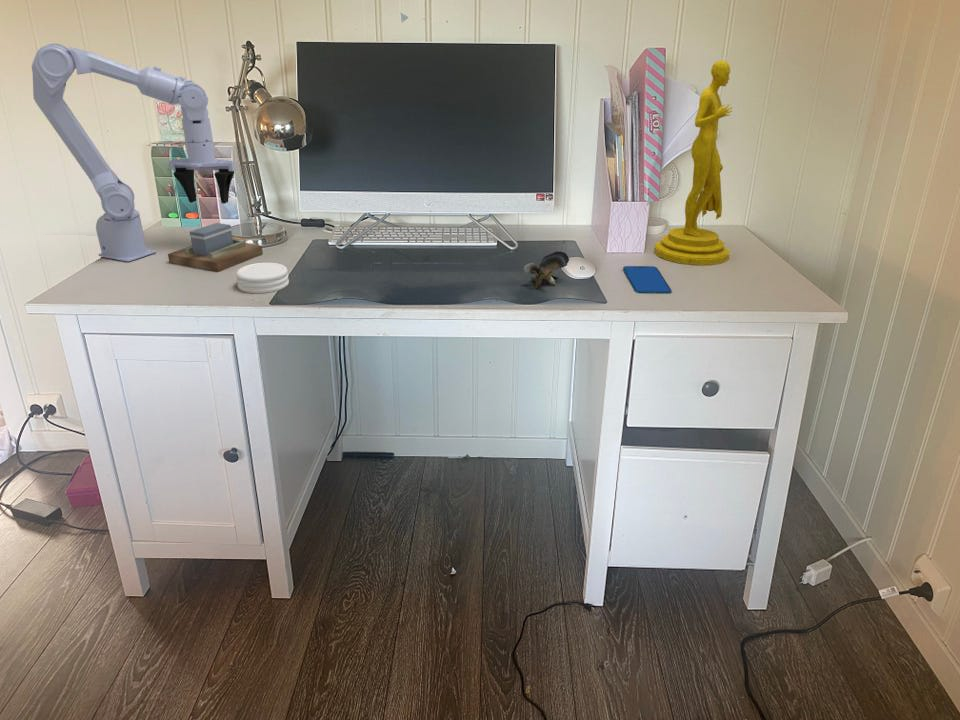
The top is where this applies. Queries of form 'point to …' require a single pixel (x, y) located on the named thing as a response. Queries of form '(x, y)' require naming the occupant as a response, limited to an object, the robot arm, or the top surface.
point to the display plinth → (217, 256)
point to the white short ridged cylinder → (262, 277)
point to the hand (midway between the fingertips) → (209, 202)
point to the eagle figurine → (547, 267)
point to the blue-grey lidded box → (211, 238)
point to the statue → (702, 185)
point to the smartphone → (646, 279)
